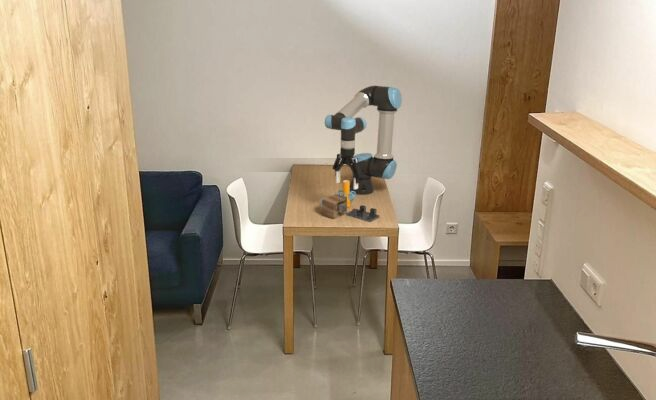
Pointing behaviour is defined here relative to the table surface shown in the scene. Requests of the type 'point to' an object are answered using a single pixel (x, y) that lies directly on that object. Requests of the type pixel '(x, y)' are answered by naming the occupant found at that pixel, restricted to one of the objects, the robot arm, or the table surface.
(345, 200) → the brown wooden stepped block
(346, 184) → the orange post with rings
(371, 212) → the dark grey pegged plate
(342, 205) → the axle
